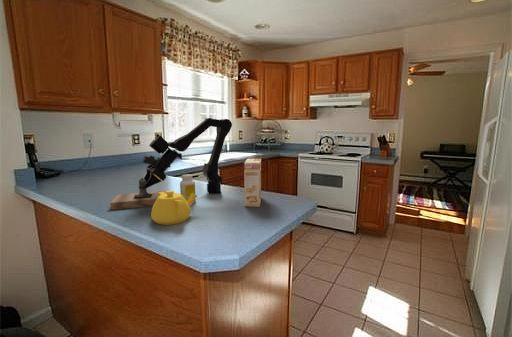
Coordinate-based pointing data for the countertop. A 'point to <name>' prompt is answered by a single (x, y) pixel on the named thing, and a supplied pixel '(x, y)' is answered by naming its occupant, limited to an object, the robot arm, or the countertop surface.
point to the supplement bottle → (187, 186)
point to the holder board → (133, 200)
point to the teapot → (171, 208)
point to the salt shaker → (142, 189)
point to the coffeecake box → (252, 182)
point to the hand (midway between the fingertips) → (143, 185)
